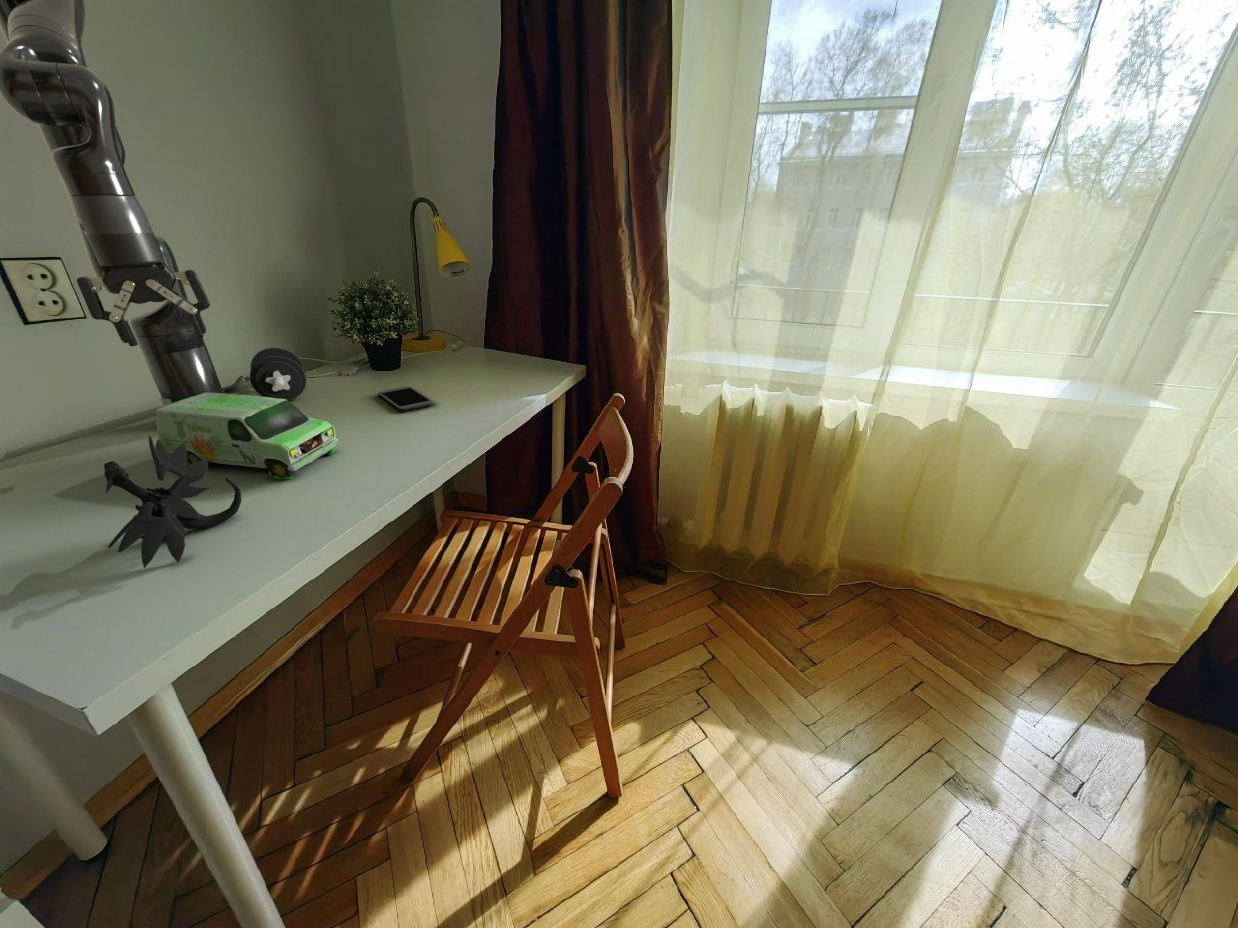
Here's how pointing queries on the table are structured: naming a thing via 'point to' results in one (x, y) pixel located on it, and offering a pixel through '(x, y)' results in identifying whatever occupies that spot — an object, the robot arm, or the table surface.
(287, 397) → the dumbbell
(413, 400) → the smartphone
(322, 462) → the table surface
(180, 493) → the figurine
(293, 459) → the toy car
